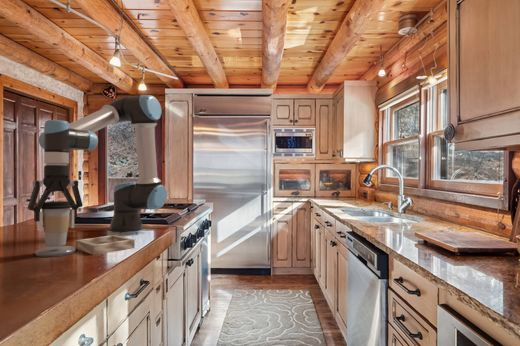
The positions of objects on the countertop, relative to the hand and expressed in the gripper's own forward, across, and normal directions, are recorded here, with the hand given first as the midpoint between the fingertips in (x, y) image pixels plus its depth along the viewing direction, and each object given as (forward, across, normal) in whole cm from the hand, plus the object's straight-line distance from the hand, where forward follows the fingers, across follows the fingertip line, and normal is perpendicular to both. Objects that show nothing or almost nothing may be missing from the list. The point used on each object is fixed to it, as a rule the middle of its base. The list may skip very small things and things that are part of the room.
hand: (56, 229), depth 121 cm
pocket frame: (+8, -15, +5) cm, 18 cm away
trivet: (+8, 0, 0) cm, 8 cm away
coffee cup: (+6, 0, 0) cm, 6 cm away
